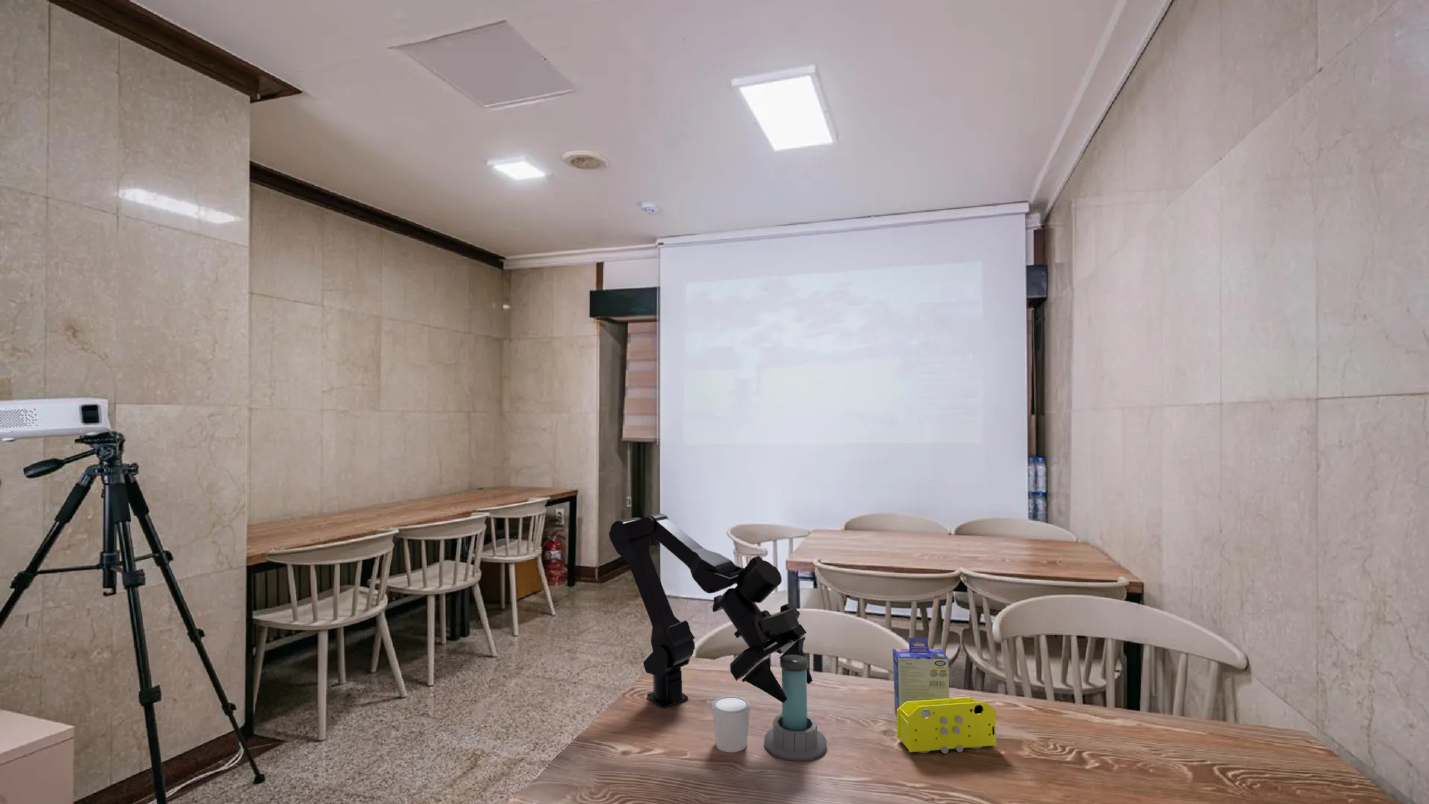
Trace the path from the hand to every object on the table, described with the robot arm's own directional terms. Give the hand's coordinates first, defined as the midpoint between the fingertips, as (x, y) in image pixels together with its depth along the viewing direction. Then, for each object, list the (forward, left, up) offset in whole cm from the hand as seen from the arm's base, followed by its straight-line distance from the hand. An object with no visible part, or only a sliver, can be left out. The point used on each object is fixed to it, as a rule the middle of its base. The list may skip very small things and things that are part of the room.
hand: (798, 691), depth 107 cm
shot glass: (-8, -9, -10) cm, 15 cm away
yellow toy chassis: (+15, +21, -10) cm, 28 cm away
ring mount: (-1, 0, -9) cm, 10 cm away
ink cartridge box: (+6, +27, -10) cm, 29 cm away
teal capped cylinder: (-1, 0, -9) cm, 9 cm away
